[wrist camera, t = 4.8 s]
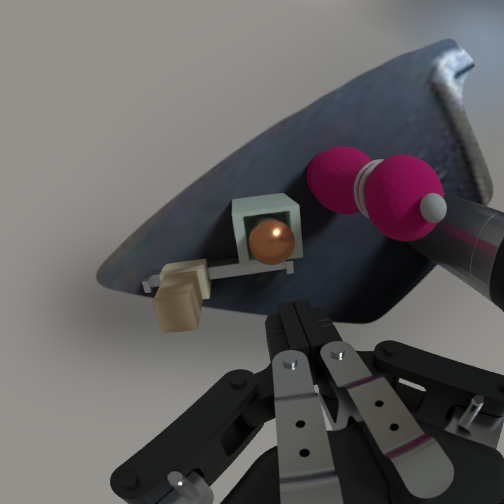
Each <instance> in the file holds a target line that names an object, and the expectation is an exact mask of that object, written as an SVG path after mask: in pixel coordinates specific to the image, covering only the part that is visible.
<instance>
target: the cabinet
mask: <svg viewBox="0 0 504 504" xmlns="http://www.w3.org/2000/svg"><path fill="white" fill-rule="evenodd" d="M267 213H271V214H273V215H274V216H275V217H276V218H277V219H278V220H279V221H282V222H283V223H285V224H286V225H287V226H288V227H289V228H290V229H291V231H292V233H293V235H294V238H295V247H294V250H293V252H292V254H291V255H290V257H289V258H288V259H293V258H300V257H303V248H302V234H301V221H300V209H299V205H298V204H297V203H296V202H295V201H293V200H292V199H291V198H289V197H288V196H287V195H285V194H284V193H279V194H270V195H262V196H255V197H247V198H240V199H233V200H232V221H233V228H234V235H235V238H236V243H237V250H238V257H239V263H240V266H245V265H252V264H259V263H261V262H259V261H258V260H257V259H255V257H254V256H253V255H252V253H251V250H250V245H249V237H250V234H251V230H250V223H251V220H252V219H253V217H254V216H255V215H259V214H267Z"/></svg>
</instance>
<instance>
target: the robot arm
mask: <svg viewBox="0 0 504 504" xmlns="http://www.w3.org/2000/svg"><path fill="white" fill-rule="evenodd" d="M443 195H444V200H445V202H446V206H447V211H446V215H445V217H444V218H443V219H442V220H441V221H440V222H438V223H437V225H436V226H435V227H434V229H433V230H432V231H431V232H430V233H428V234H427V235H426V236H424V237H422V238H420V239H417V240H414V241H406V242H407V243H408V244H409V246H411V247H412V248H413V249H415V250H416V251H418V252H420V253H421V254H423V255H424V256H426V257H427V258H429V259H431V260H432V261H434V262H435V263H437V264H438V265H440V266H441V267H443V268H444V269H446V270H447V271H449V272H451V273H452V274H453V275H455V276H457V277H458V278H459V279H461V280H462V281H464V282H465V283H466V284H468V285H469V286H471V287H472V288H474V289H475V290H476V291H478V292H479V293H481V294H482V295H483V296H485V297H486V298H487V299H489V300H490V301H492V302H493V303H494V304H495V305H497V306H498V307H499V308H500V309H502V310H503V312H504V212H501V211H498V210H496V209H493V208H490V207H487V206H484V205H481V204H478V203H475V202H472V201H469V200H466V199H462V198H459V197H456V196H453V195H450V194H446V193H443ZM277 313H278V314H277V315H270V316H268V317H267V319H266V321H265V327H266V335H267V343H268V350H269V355H270V360H271V363H270V365H269V366H268V367H267V368H266V369H264V370H263V371H261V372H258V373H256V374H253V373H252V372H250V371H248V370H243V369H238V370H233V371H230V372H228V373H226V374H225V375H224V376H223V377H222V378H221V379H220V380H219V381H218V382H216V383H215V384H214V385H213V386H212V387H211V388H210V389H209V390H208V391H207V392H206V393H205V394H204V395H203V396H202V397H200V398H199V399H198V400H197V401H196V402H195V403H194V404H193V405H192V406H191V407H190V408H188V409H187V410H186V411H185V412H184V413H183V414H182V415H181V416H179V417H178V418H177V419H176V420H175V421H174V422H173V423H172V424H170V425H169V426H168V427H167V428H166V429H165V430H163V431H162V432H161V433H160V434H159V435H158V436H156V437H155V438H154V439H153V440H152V441H151V442H149V443H148V444H147V445H146V446H145V447H143V448H142V449H141V450H139V451H138V452H137V453H136V454H134V455H133V456H132V457H131V458H129V459H128V460H127V461H126V462H124V463H123V464H122V465H120V466H119V467H118V468H117V469H116V470H115V471H114V472H113V473H112V475H111V479H110V485H111V488H112V490H113V491H114V493H115V494H117V495H118V496H119V497H121V498H122V499H123V500H125V501H126V502H127V503H128V504H212V503H213V499H214V495H213V492H212V490H211V489H210V486H211V485H212V484H213V483H214V482H215V481H216V479H217V478H218V477H219V476H220V475H221V474H222V473H223V472H224V471H225V470H226V469H227V468H228V467H229V466H230V465H231V463H232V462H233V461H234V460H235V459H236V458H237V457H238V456H239V454H240V453H241V452H242V451H243V450H244V449H245V448H246V446H247V445H248V444H249V443H250V442H251V440H252V439H253V438H254V437H255V436H256V434H257V433H258V432H259V431H260V430H261V428H262V427H263V425H264V423H265V422H267V421H269V420H272V419H274V418H276V430H277V444H278V445H277V446H275V447H273V448H271V449H269V450H268V451H266V452H265V453H263V454H262V455H261V456H260V457H259V458H258V459H257V460H256V461H255V462H254V463H253V464H252V465H251V467H250V468H249V469H248V471H247V472H246V473H245V474H244V476H243V477H242V478H241V479H240V481H239V482H238V483H237V484H236V485H235V487H234V488H233V489H232V490H231V491H230V493H229V494H228V495H227V496H226V497H225V498H224V500H223V501H222V502H221V503H220V504H504V458H503V456H502V455H501V453H500V452H499V451H497V450H496V448H497V444H498V441H499V438H500V433H501V430H502V426H503V422H504V375H501V374H497V373H494V372H490V371H487V370H484V369H480V368H477V367H474V366H470V365H467V364H464V363H461V362H457V361H454V360H451V359H448V358H445V357H441V356H439V355H436V354H432V353H429V352H426V351H423V350H420V349H417V348H414V347H411V346H408V345H405V344H403V343H400V342H396V341H391V340H388V341H383V342H380V343H379V344H377V345H376V347H375V349H374V351H356V350H354V348H353V347H352V346H351V345H350V344H348V343H346V342H343V341H342V339H341V337H340V335H339V333H338V331H337V330H336V328H335V326H334V325H333V322H332V321H331V320H330V317H329V315H328V314H327V312H326V311H324V310H323V309H321V308H320V307H318V308H312V307H311V305H310V303H309V301H308V299H306V300H300V301H294V302H288V303H282V304H277ZM399 378H402V379H404V380H407V381H410V382H412V383H415V384H418V385H420V386H422V387H424V388H425V389H426V391H421V390H418V389H415V388H412V387H410V386H407V385H405V384H402V383H399ZM314 385H318V388H319V395H318V393H315V390H314ZM320 402H321V403H320ZM321 404H322V406H323V408H324V410H325V412H326V415H327V417H328V419H329V422H330V424H331V426H332V428H333V431H327V430H326V426H325V421H324V417H323V412H322V408H321Z"/></svg>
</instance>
